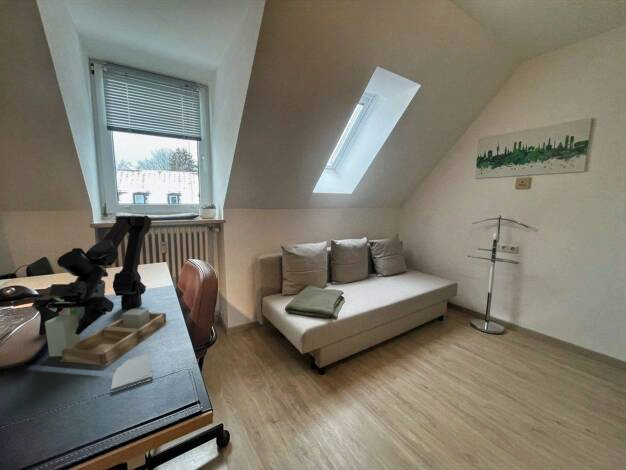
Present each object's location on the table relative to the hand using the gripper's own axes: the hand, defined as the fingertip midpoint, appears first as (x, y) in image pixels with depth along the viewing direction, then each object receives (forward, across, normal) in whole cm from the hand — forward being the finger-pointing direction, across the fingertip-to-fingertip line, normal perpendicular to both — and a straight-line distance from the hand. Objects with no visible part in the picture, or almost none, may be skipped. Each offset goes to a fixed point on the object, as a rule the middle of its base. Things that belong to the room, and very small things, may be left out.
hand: (58, 334), depth 69 cm
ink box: (-8, -15, +18) cm, 25 cm away
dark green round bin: (-15, -13, +25) cm, 32 cm away
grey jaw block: (-5, +12, +13) cm, 19 cm away
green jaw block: (+4, 0, +6) cm, 7 cm away
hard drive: (+10, +23, 0) cm, 26 cm away
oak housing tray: (0, +11, +10) cm, 15 cm away
